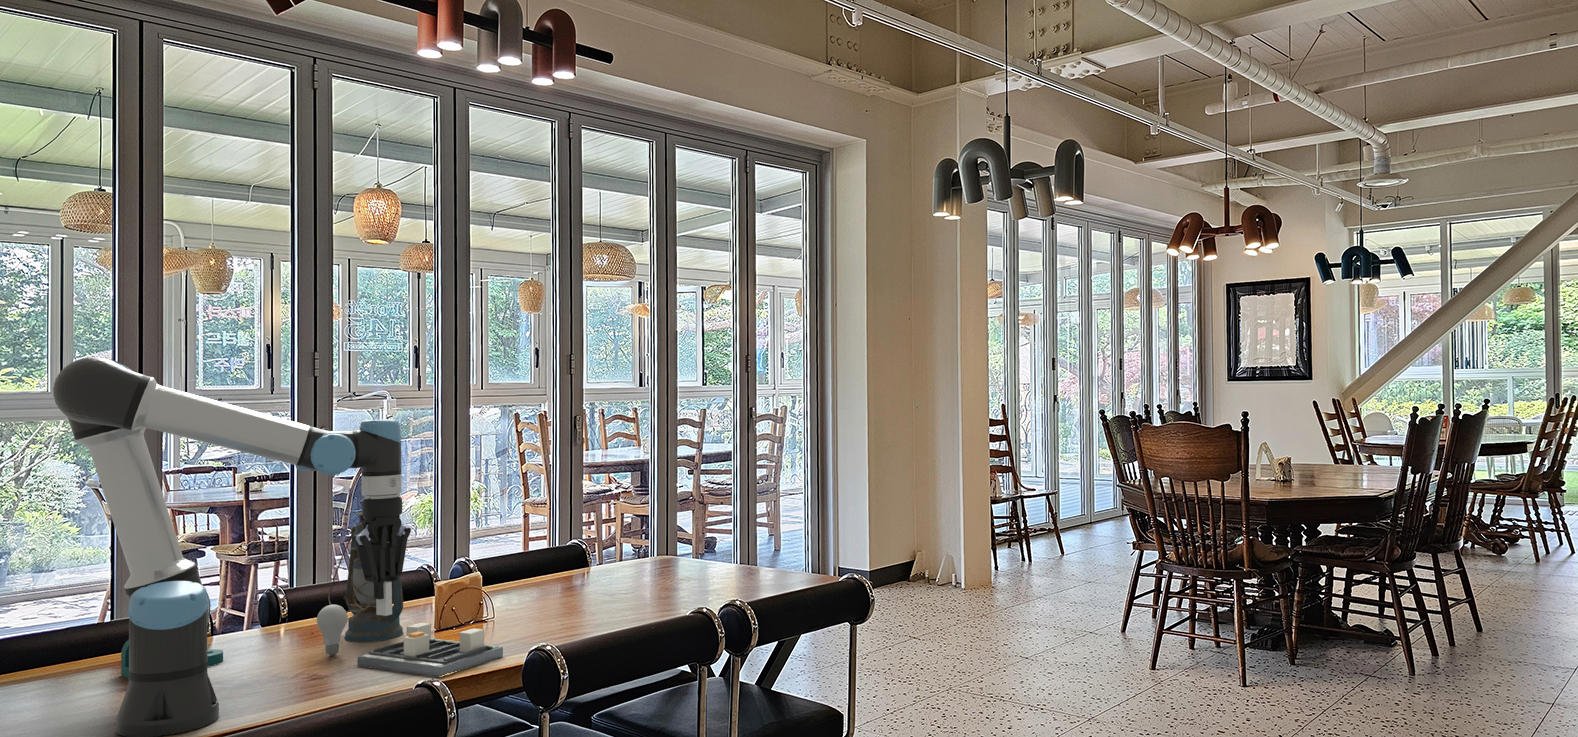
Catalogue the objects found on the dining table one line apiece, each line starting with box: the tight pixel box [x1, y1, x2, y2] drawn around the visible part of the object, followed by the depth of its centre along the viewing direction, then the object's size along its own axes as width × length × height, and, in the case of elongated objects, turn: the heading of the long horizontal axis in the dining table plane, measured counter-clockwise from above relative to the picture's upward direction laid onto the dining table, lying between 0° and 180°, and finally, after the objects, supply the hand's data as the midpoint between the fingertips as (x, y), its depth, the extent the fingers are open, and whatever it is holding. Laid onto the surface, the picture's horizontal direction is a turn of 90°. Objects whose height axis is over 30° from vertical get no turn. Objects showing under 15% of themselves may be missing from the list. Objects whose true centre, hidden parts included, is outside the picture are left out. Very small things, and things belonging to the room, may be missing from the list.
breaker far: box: [406, 622, 432, 640], centre depth 226 cm, size 4×3×4 cm
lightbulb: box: [316, 604, 349, 657], centre depth 225 cm, size 6×6×11 cm
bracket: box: [120, 639, 224, 680], centre depth 216 cm, size 18×7×8 cm, turn 140°
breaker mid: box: [403, 632, 429, 657], centre depth 216 cm, size 4×3×5 cm
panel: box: [356, 637, 504, 678], centre depth 219 cm, size 18×23×3 cm
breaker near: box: [459, 628, 485, 652], centre depth 220 cm, size 4×3×4 cm
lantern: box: [327, 511, 404, 643], centre depth 243 cm, size 19×14×30 cm
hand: (384, 614), depth 208 cm, fingers closed
